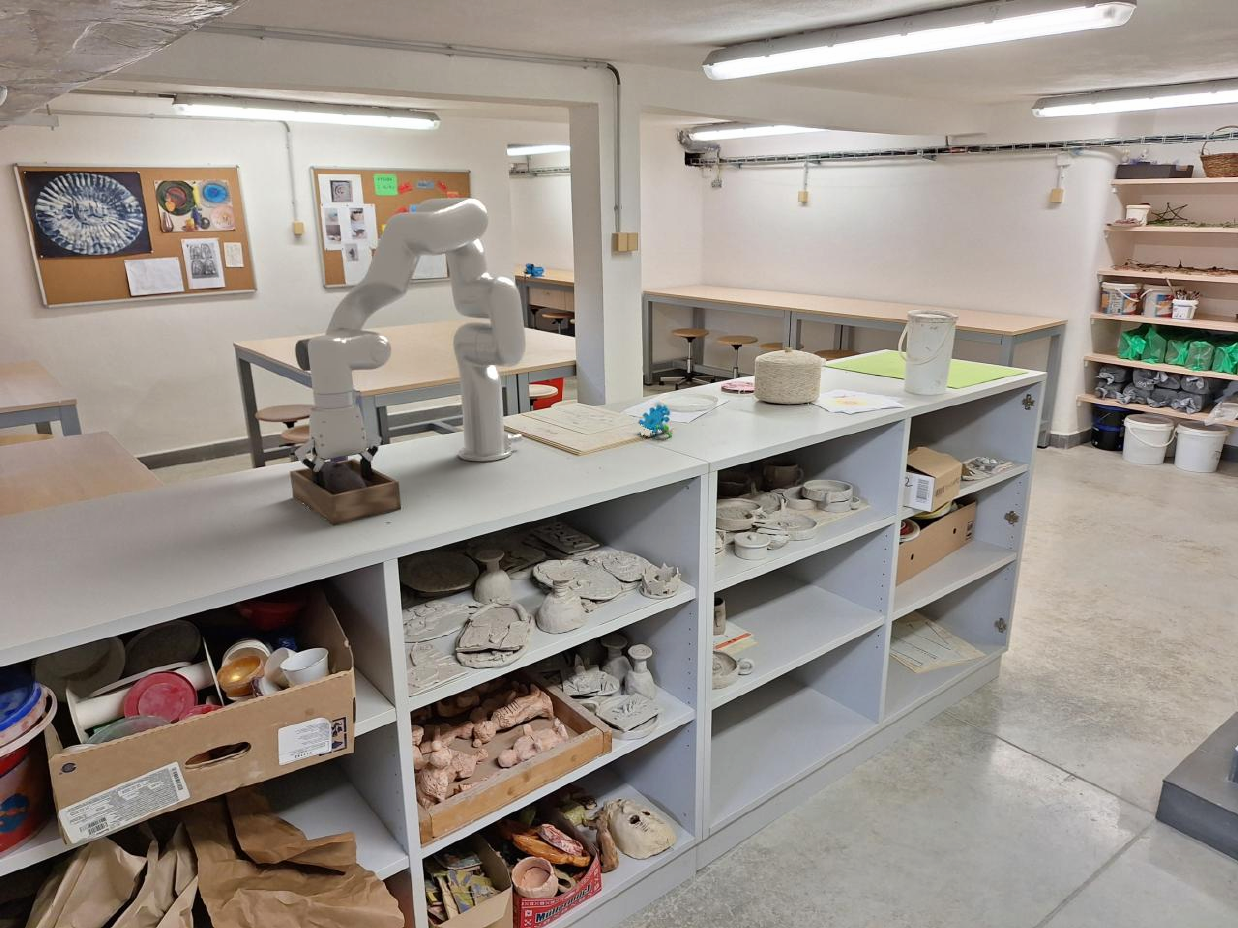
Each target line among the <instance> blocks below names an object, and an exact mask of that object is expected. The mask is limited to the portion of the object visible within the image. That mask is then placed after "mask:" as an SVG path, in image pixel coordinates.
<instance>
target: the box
mask: <svg viewBox="0 0 1238 928" xmlns="http://www.w3.org/2000/svg"><path fill="white" fill-rule="evenodd" d="M337 463H340V464H344V465H346V466H347V467H349V468H350V469H352V470H353V471H354V472H356V473H357V474H358V475H359V476H360V477H361V468H360V460H356V459H355V458H353V459H352V458H351V459H348V460H346V461H341V462H337ZM289 475H290V480H291V481H290V482H291V489H292V490H291V491H292V497H293V498H294V499H295V498H296V499H297V500H296V499H295V500H296V501H298V502H299V501H300V502H299V503H301V502H302V503H304V504H305V505H306V506H308V507H309V508H310V510H311V509H312V510H313V512H314V511H315V512H316V513H315V512H314V513H315V514H317V515H318V514H319V515H320V516H319V515H318V516H319V517H321V518H323V519H324V520H325V519H326V520H325V521H326V522H328V523H329V522H330V523H329V524H331V525H332V524H333V526H335V525H336V524H337V525H341V524H345V523H349V522H353V521H356V520H357V519H358V520H362V519H365V518H369V517H373V516H378V515H382V514H387V513H392V512H394V511H398V510H401V509H402V505H401V494H400V484H399V481H397V480H396V479H393V478H391V477H390V476H388V475H386V474H384V473H383V472H380V471H379V470H376V469H374V468H372V475H371V481H367V480H365V479H363V478H362V477H361V478H362V480H363V481H364V483H365V485H366V487H367V488H363V489H358V490H353V491H349V492H344V493H340V494H335V495H332V494H330V493H329V492H327V491H326V490H324V489H322V488H321V487H319V486H318V485H316V484H314V483H313V477H312V470H311V469H310V468H309V467H306V468H300V469H295V470H291V471H289ZM302 503H301V504H302ZM304 504H303V505H304ZM305 505H304V506H305ZM306 506H305V507H306ZM308 507H307V508H308ZM309 508H308V509H309ZM312 510H311V511H312ZM361 518H362V519H361ZM340 523H341V524H340Z"/></svg>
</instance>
